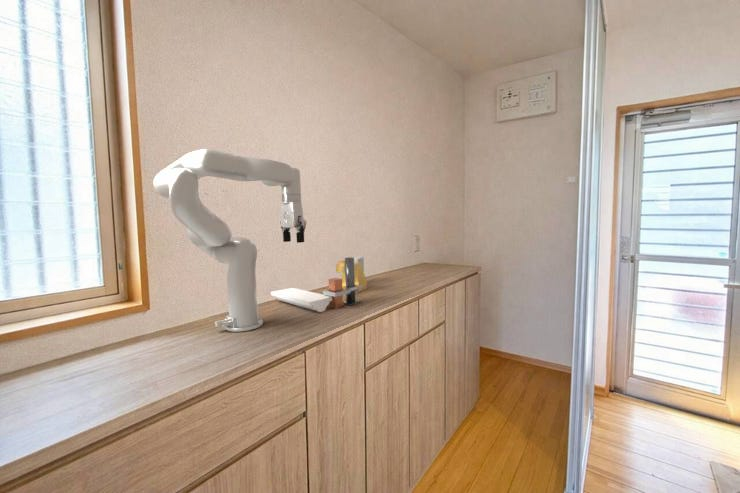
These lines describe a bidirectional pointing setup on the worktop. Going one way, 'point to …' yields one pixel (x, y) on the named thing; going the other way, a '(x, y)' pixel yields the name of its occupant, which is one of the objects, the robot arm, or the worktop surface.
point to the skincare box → (359, 261)
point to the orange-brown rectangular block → (336, 286)
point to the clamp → (359, 275)
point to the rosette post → (347, 285)
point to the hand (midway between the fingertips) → (293, 241)
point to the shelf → (303, 298)
